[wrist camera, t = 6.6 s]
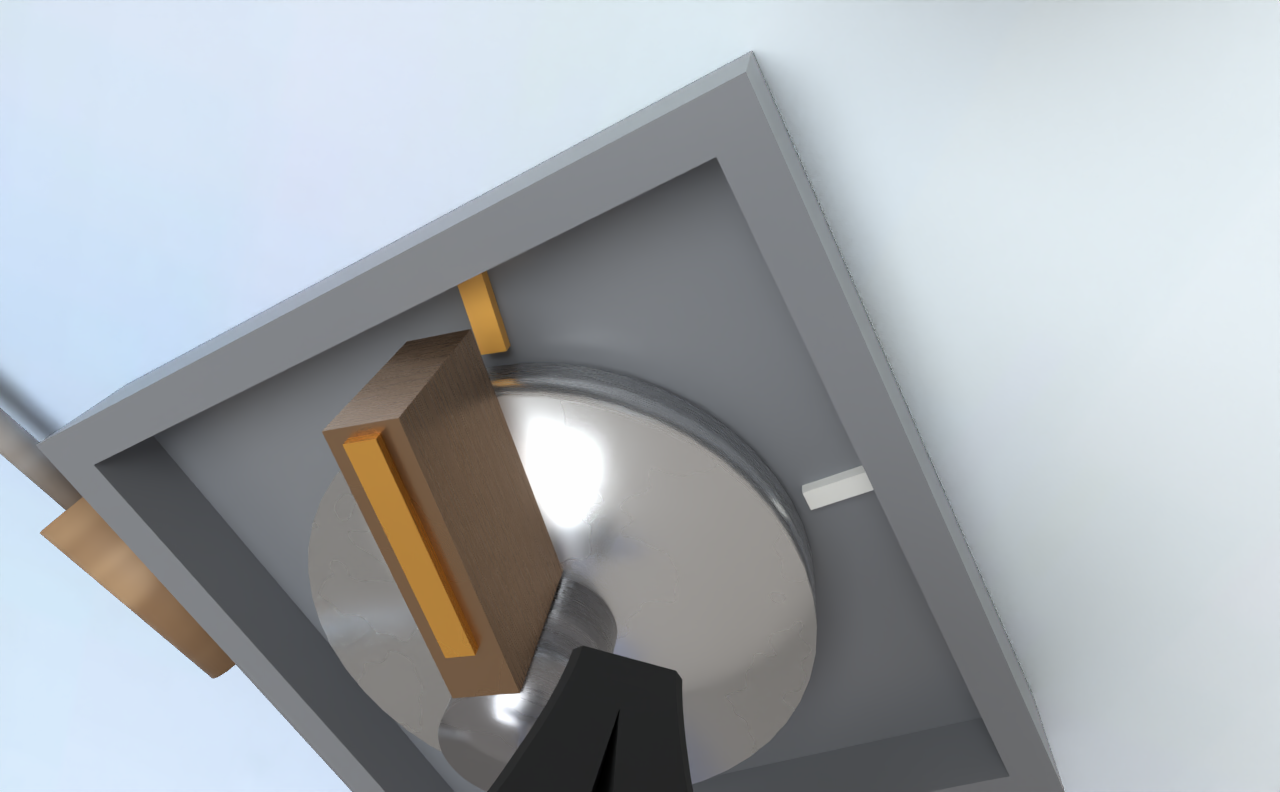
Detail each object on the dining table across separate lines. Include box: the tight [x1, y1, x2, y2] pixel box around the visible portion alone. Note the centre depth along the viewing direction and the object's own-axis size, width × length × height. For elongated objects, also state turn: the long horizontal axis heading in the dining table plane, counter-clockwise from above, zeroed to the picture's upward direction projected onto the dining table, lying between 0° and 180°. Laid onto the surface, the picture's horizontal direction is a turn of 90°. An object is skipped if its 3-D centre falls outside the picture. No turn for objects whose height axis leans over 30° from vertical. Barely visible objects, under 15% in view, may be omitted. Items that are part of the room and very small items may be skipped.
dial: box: [308, 329, 817, 792], centre depth 18 cm, size 14×12×5 cm
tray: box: [36, 51, 1065, 792], centre depth 21 cm, size 18×18×3 cm
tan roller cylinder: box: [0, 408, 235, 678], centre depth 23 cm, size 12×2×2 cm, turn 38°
